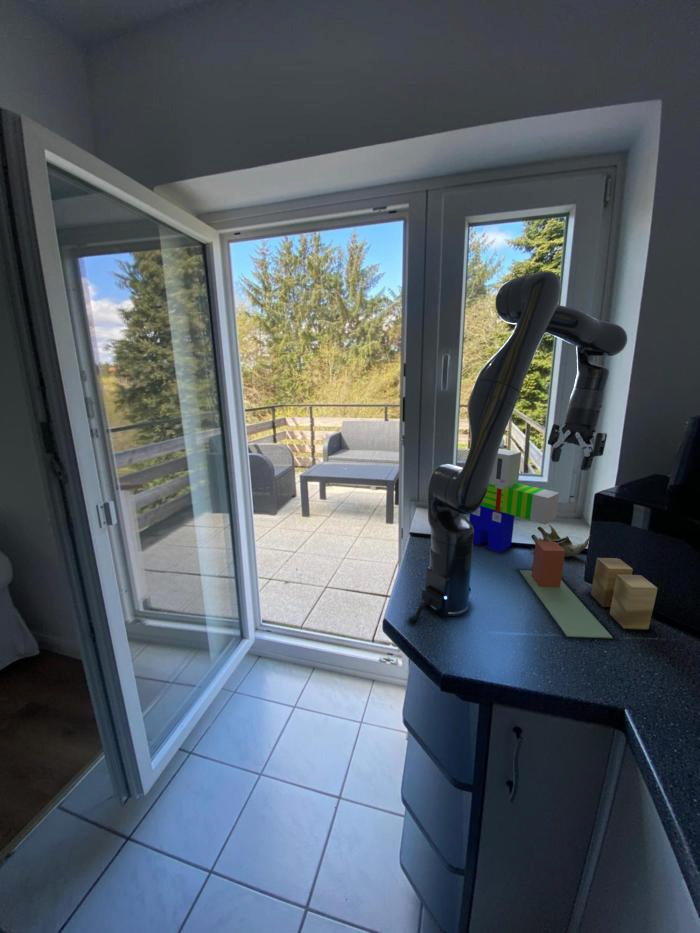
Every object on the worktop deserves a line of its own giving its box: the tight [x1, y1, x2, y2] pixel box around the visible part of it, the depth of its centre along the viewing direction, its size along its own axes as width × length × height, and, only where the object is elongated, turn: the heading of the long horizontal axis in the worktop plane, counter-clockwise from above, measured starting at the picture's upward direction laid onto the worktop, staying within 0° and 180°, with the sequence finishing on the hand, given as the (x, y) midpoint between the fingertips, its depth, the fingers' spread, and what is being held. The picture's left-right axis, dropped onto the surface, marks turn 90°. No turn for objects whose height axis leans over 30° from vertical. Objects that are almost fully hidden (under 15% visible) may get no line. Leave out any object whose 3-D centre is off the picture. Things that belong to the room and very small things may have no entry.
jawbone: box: [530, 524, 589, 558], centre depth 109 cm, size 9×15×10 cm
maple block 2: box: [609, 574, 659, 630], centre depth 79 cm, size 5×5×10 cm
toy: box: [468, 448, 560, 553], centre depth 114 cm, size 34×7×30 cm, turn 40°
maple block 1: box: [590, 557, 634, 608], centre depth 87 cm, size 5×5×10 cm
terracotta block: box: [531, 542, 566, 587], centre depth 95 cm, size 5×5×10 cm
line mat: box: [519, 569, 613, 639], centre depth 89 cm, size 26×9×1 cm, turn 176°
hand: (569, 465), depth 103 cm, fingers open, 8 cm apart
